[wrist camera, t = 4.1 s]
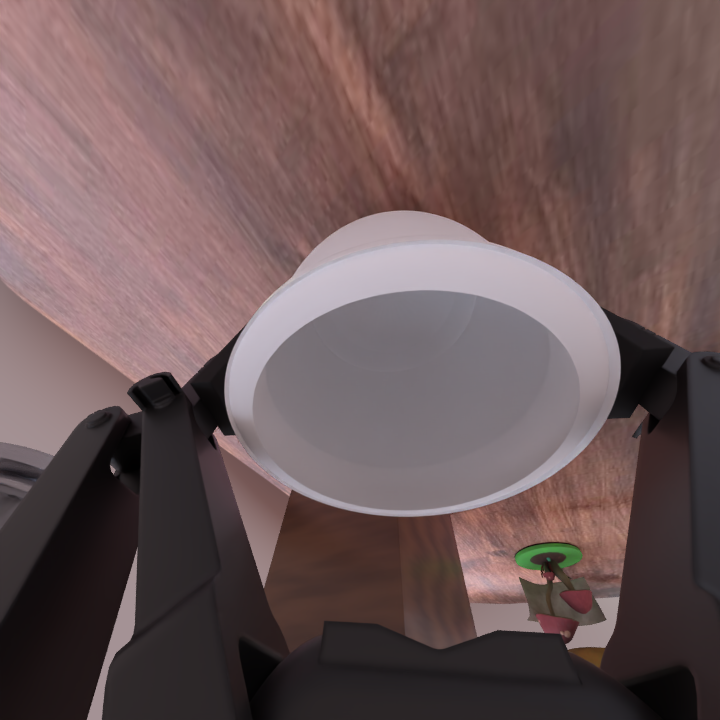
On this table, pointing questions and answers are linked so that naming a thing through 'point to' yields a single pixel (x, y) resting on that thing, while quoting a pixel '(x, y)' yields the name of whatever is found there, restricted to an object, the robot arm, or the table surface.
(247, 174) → the table surface
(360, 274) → the jar
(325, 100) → the table surface
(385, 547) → the stand
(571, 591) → the toy figurine
